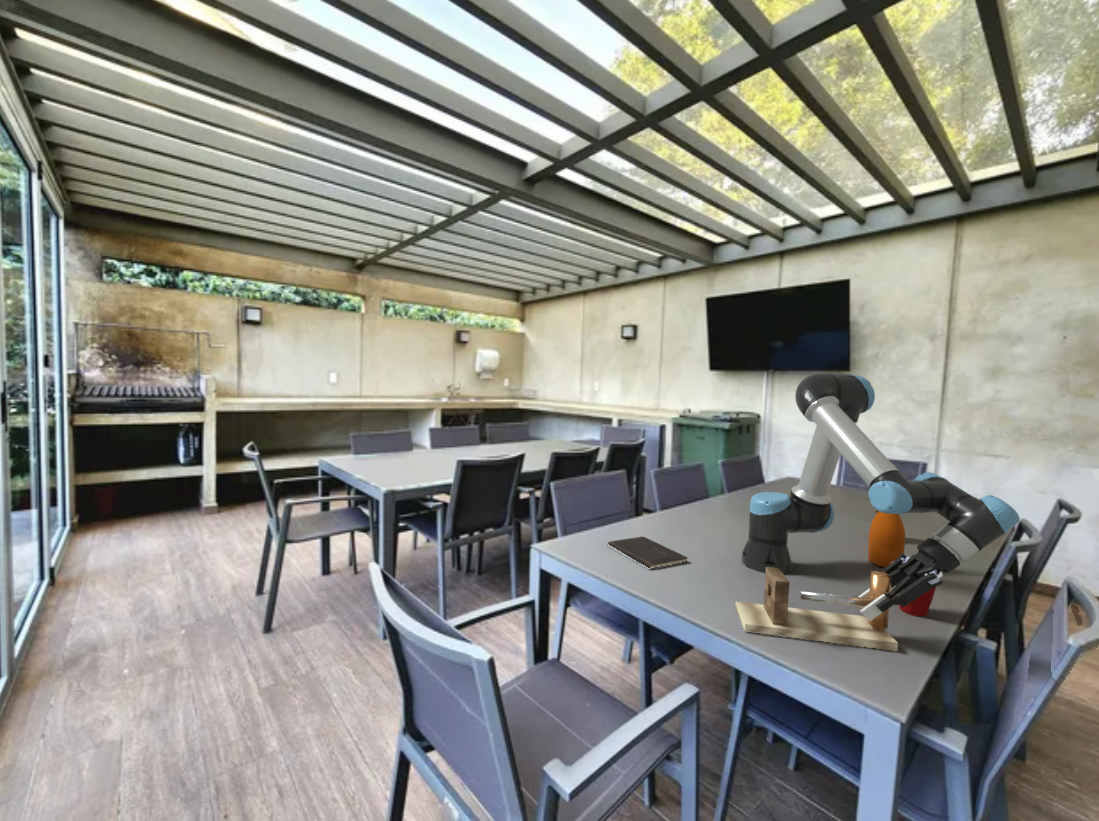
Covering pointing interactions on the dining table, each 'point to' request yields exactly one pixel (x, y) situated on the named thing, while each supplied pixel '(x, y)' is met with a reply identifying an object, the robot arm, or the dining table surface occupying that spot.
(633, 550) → the hardcover book
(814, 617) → the copper canister stand
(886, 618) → the copper cylinder with rod
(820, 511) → the robot arm
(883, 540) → the wine bottle
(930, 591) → the plastic cup
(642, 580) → the dining table surface
